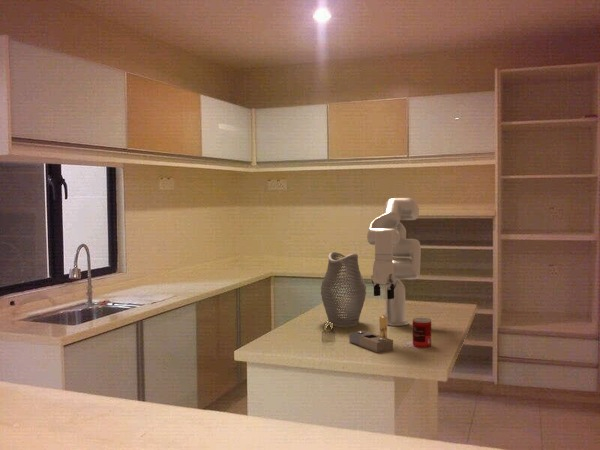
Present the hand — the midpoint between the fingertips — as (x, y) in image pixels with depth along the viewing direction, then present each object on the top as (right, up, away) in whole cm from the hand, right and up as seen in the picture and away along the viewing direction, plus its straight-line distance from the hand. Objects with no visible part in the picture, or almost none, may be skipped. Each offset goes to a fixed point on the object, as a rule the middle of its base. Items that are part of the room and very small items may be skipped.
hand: (383, 297), depth 252 cm
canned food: (+15, -19, -9) cm, 26 cm away
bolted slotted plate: (-7, -19, -10) cm, 22 cm away
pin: (0, -19, +1) cm, 19 cm away
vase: (-15, -18, +35) cm, 42 cm away
